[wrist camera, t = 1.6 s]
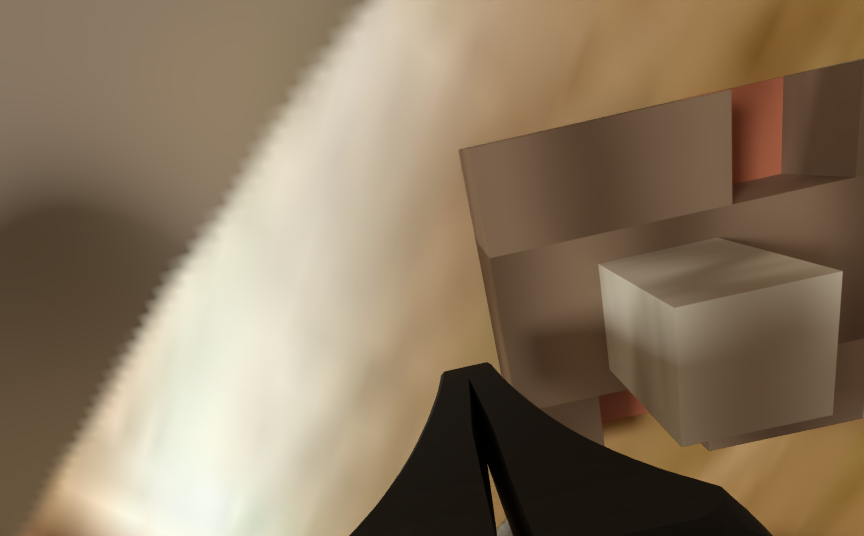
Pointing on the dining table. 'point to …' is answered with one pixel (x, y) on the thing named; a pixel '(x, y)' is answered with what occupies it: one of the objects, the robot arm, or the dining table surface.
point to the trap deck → (666, 225)
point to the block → (723, 337)
